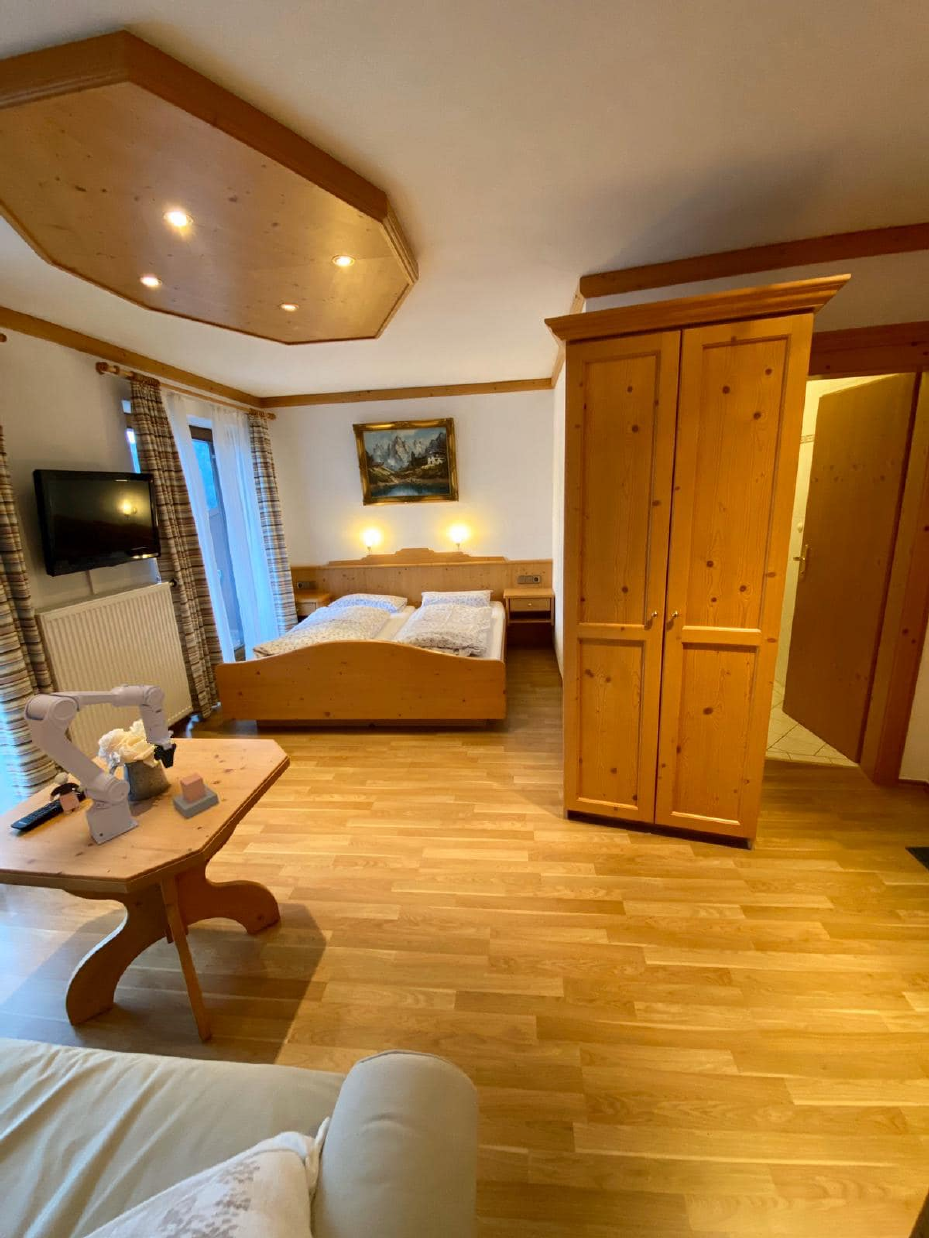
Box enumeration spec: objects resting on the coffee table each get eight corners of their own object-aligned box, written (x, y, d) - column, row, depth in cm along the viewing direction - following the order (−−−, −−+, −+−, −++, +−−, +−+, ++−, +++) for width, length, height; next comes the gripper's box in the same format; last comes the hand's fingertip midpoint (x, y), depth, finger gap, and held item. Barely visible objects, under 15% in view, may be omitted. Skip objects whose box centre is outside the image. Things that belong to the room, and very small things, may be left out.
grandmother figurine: (85, 801, 147) (74, 765, 144) (88, 806, 144) (77, 769, 141) (53, 815, 141) (41, 777, 138) (56, 820, 139) (44, 782, 135)
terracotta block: (190, 802, 138) (186, 784, 137) (183, 797, 141) (179, 779, 139) (206, 795, 142) (202, 777, 140) (199, 790, 144) (195, 772, 143)
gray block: (187, 818, 136) (185, 809, 135) (174, 807, 141) (172, 798, 141) (219, 802, 143) (217, 794, 142) (205, 792, 148) (204, 784, 147)
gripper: (178, 724, 142) (187, 764, 145) (160, 712, 151) (169, 750, 154) (152, 733, 136) (162, 775, 140) (135, 721, 145) (144, 760, 149)
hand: (164, 763), depth 147 cm, fingers open, 7 cm apart
